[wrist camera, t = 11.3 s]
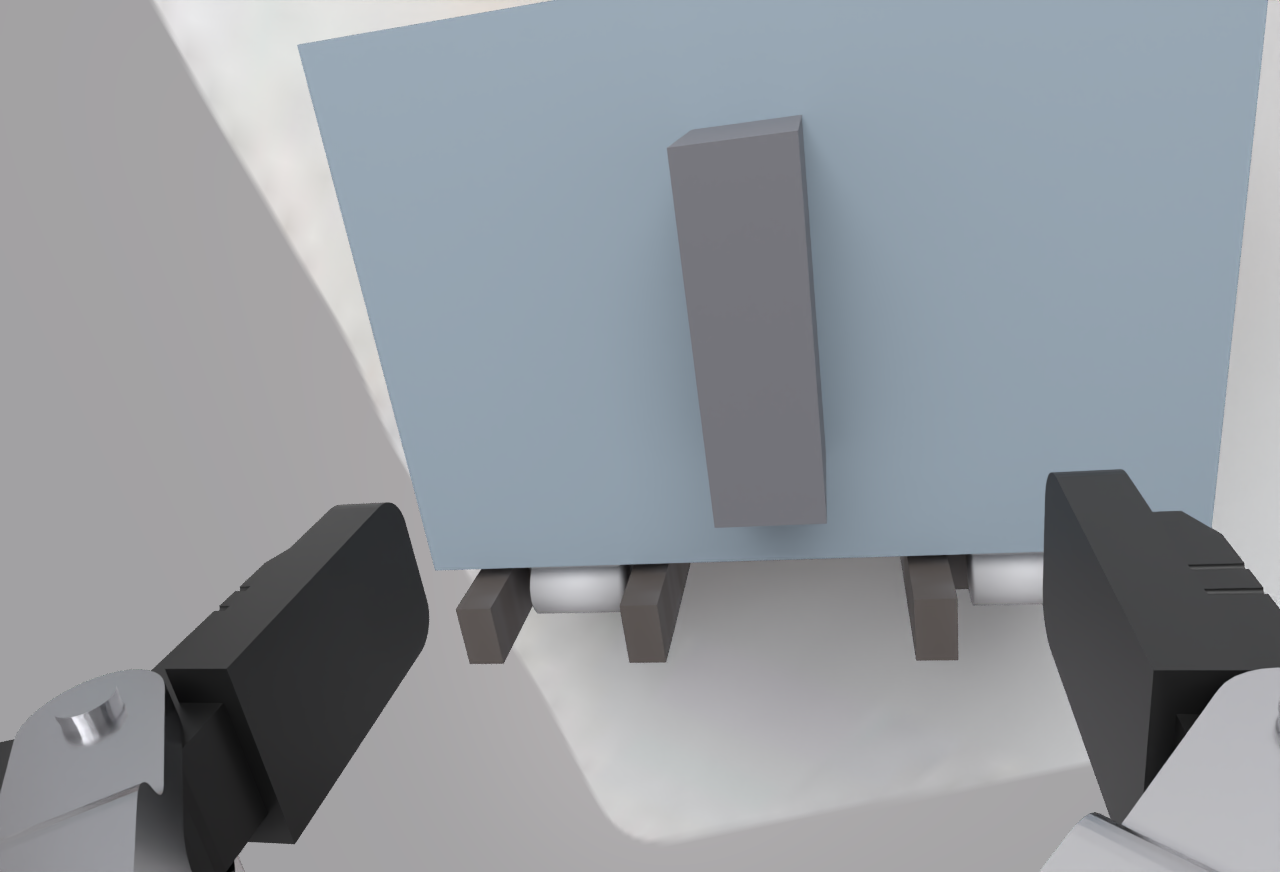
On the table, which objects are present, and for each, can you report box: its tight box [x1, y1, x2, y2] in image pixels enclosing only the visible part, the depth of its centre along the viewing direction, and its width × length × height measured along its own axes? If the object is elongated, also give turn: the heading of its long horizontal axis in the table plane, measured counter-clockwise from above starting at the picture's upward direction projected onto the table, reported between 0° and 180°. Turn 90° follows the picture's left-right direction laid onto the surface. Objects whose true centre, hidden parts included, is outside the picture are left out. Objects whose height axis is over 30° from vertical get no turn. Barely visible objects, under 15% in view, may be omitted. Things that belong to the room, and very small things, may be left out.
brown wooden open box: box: [456, 554, 969, 664], centre depth 25 cm, size 20×16×11 cm
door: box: [297, 0, 1268, 613], centre depth 21 cm, size 20×16×5 cm
